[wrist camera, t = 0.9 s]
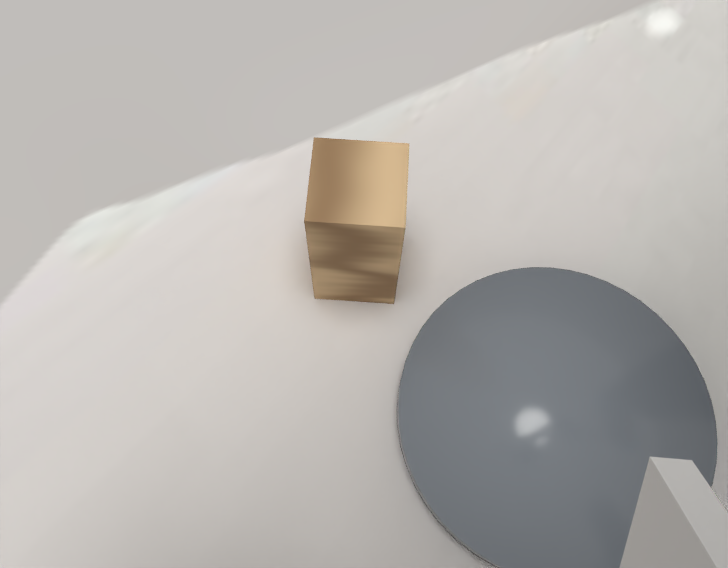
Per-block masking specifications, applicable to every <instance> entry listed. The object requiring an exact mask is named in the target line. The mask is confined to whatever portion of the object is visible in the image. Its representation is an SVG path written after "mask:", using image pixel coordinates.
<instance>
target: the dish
mask: <svg viewBox="0 0 728 568" xmlns="http://www.w3.org/2000/svg"><path fill="white" fill-rule="evenodd" d="M397 426H398V433H399V439H400V446H401V450H402V453H403V457H404V460H405V464H406V467H407V469H408V472H409V474H410V476H411V479H412V481H413V483H414V486H415V487H416V489H417V491H418V493H419V494H420V496H421V498H422V499H423V501H424V503H425V505H426V506H427V507H428V509H429V510H430V511H431V513H432V514H433V515H434V517H435V518H436V519H437V520H438V522H439V523H440V524H441V525H442V526H443V527H444V528H445V529H446V530H447V531H448V532H449V533H450V534H451V535H452V536H453V537H454V538H455V539H456V540H457V541H458V542H460V543H461V544H462V545H463V546H465V547H466V548H467V549H468V550H470V551H471V552H472V553H473V554H475V555H477V556H478V557H480V558H482V559H483V560H485V561H487V562H488V563H490V564H492V565H494V566H496V567H498V568H620V564H621V560H622V557H623V553H624V549H625V546H626V542H627V538H628V535H629V531H630V527H631V524H632V520H633V516H634V513H635V509H636V505H637V502H638V498H639V494H640V491H641V487H642V483H643V480H644V476H645V472H646V469H647V465H648V461H649V458H650V457H661V458H673V459H684V460H692V461H693V462H694V464H695V465H696V467H697V468H698V470H699V471H700V473H701V474H702V475H703V477H704V478H705V480H706V481H707V483H708V484H709V486H710V487H711V486H712V483H713V478H714V473H715V467H716V460H717V431H716V421H715V416H714V411H713V406H712V402H711V399H710V396H709V393H708V390H707V387H706V384H705V381H704V379H703V377H702V375H701V373H700V371H699V369H698V367H697V365H696V363H695V361H694V359H693V358H692V356H691V355H690V353H689V351H688V350H687V348H686V347H685V345H684V344H683V343H682V341H681V340H680V339H679V338H678V336H677V335H676V334H675V333H674V331H673V330H672V329H671V328H670V327H669V326H668V325H667V324H666V323H665V322H664V321H663V320H662V319H661V318H660V317H659V316H658V315H657V314H656V313H655V312H654V311H652V310H651V309H650V308H649V307H647V306H646V305H645V304H644V303H642V302H641V301H640V300H638V299H637V298H635V297H634V296H632V295H630V294H629V293H627V292H626V291H624V290H622V289H620V288H618V287H616V286H614V285H612V284H610V283H608V282H606V281H604V280H601V279H598V278H595V277H593V276H590V275H587V274H583V273H579V272H575V271H571V270H565V269H557V268H539V267H530V268H521V269H513V270H508V271H504V272H500V273H496V274H493V275H490V276H487V277H485V278H482V279H480V280H477V281H475V282H473V283H472V284H470V285H468V286H466V287H464V288H462V289H461V290H459V291H458V292H457V293H455V294H454V295H453V296H451V297H450V298H448V299H447V300H446V301H445V302H444V303H443V304H442V305H441V306H440V307H439V308H438V309H437V310H436V311H435V312H434V313H433V314H432V315H431V316H430V318H429V319H428V320H427V322H426V323H425V324H424V325H423V327H422V328H421V330H420V332H419V333H418V335H417V337H416V339H415V340H414V342H413V344H412V347H411V349H410V352H409V354H408V357H407V359H406V362H405V366H404V370H403V374H402V378H401V382H400V386H399V393H398V402H397Z"/></svg>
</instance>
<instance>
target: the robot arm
mask: <svg viewBox="0 0 728 568" xmlns="http://www.w3.org/2000/svg"><path fill="white" fill-rule="evenodd" d="M620 568H728V511H727V510H726V509H725V507H724V506H723V504H722V503H721V501H720V500H719V499H718V497H717V496H716V494H715V493H714V491H713V490H712V488H711V487H710V486H709V484H708V483H707V481H706V480H705V478H704V477H703V475H702V474H701V473H700V471H699V470H698V468H697V467H696V465H695V464H694V462H693V461H692V460H684V459H673V458H661V457H650V458H649V461H648V465H647V469H646V472H645V476H644V480H643V483H642V487H641V491H640V494H639V498H638V502H637V505H636V509H635V513H634V516H633V520H632V524H631V527H630V531H629V535H628V538H627V542H626V546H625V549H624V553H623V557H622V560H621V564H620Z"/></svg>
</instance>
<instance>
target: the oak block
mask: <svg viewBox="0 0 728 568" xmlns="http://www.w3.org/2000/svg"><path fill="white" fill-rule="evenodd" d="M408 160H409V144H407V143H392V142H376V141H360V140H345V139H329V138H314V142H313V150H312V159H311V167H310V176H309V185H308V193H307V202H306V211H305V219H304V223H305V230H306V237H307V245H308V252H309V260H310V267H311V275H312V282H313V289H314V297H315V299H330V300H345V301H360V302H375V303H390V304H394V299H395V293H396V286H397V279H398V273H399V266H400V260H401V253H402V247H403V240H404V234H405V225H406V204H407V182H408Z"/></svg>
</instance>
